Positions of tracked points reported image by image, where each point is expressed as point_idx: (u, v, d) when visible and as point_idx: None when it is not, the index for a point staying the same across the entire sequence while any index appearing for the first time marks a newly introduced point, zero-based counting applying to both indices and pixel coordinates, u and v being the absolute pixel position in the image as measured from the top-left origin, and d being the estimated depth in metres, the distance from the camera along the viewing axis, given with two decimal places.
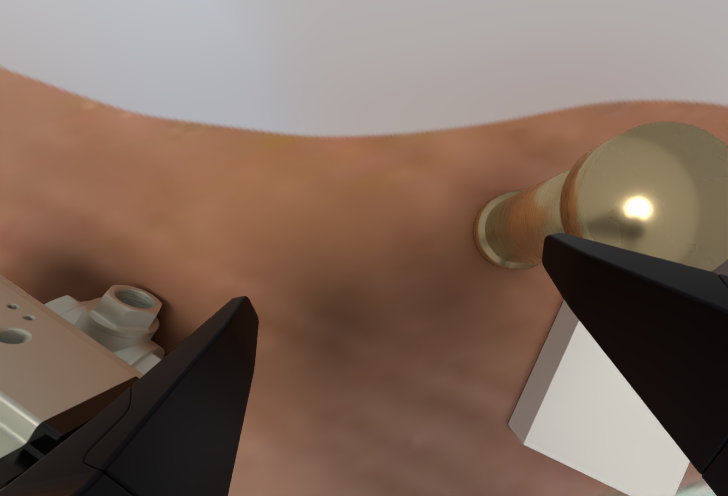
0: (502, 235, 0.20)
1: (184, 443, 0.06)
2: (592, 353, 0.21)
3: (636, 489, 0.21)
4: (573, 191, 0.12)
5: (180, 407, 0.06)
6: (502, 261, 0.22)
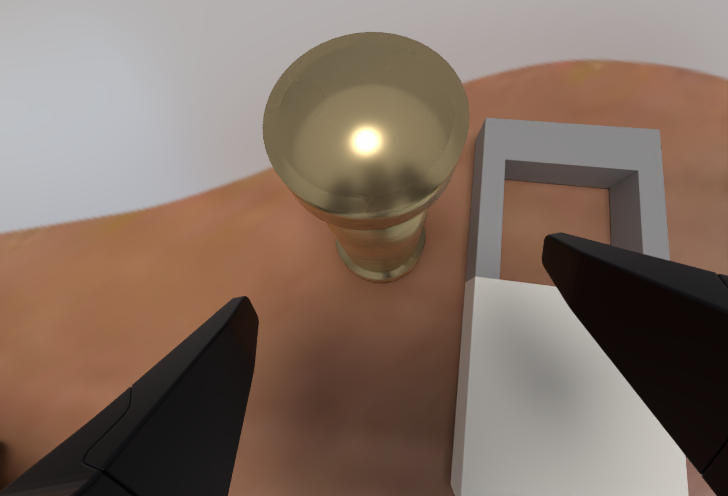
0: (339, 243, 0.17)
1: (184, 443, 0.06)
2: (503, 351, 0.16)
3: None
4: None
5: (180, 407, 0.06)
6: (372, 274, 0.19)
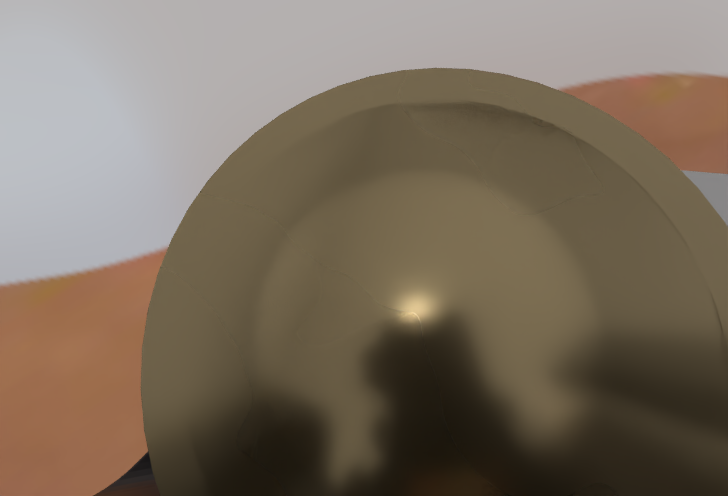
0: None
1: None
2: None
3: None
4: None
5: None
6: None
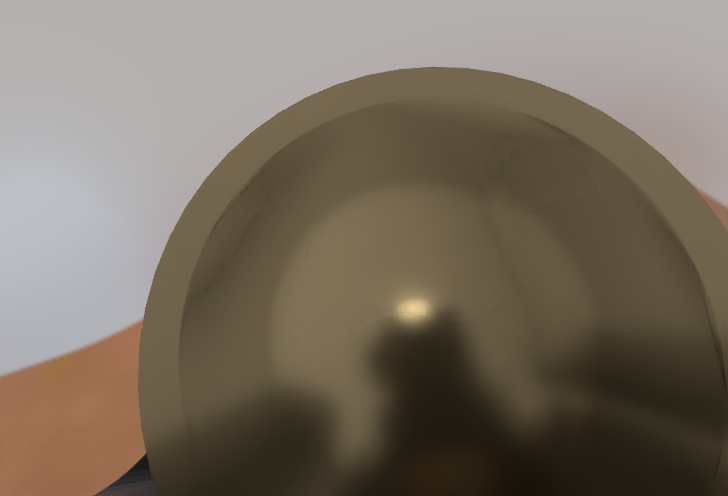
0: None
1: None
2: None
3: None
4: None
5: None
6: None
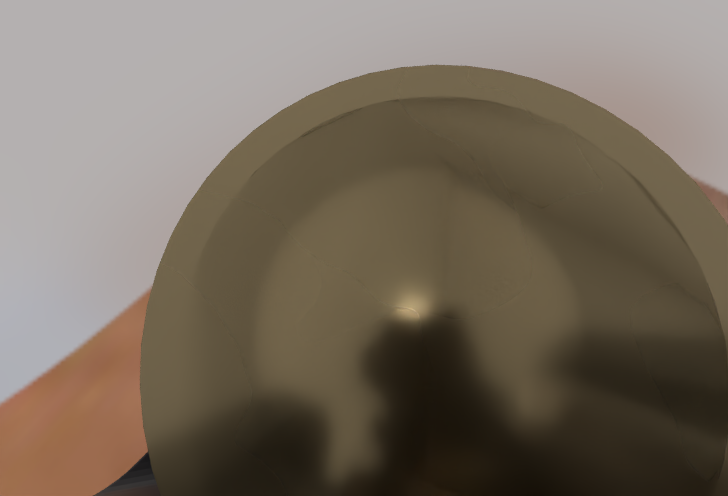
0: None
1: None
2: None
3: None
4: None
5: None
6: None
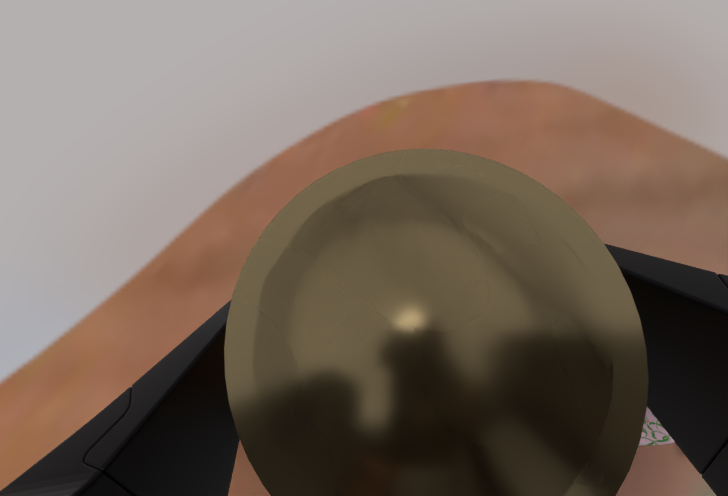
0: None
1: (184, 443, 0.06)
2: None
3: None
4: None
5: (180, 407, 0.06)
6: None
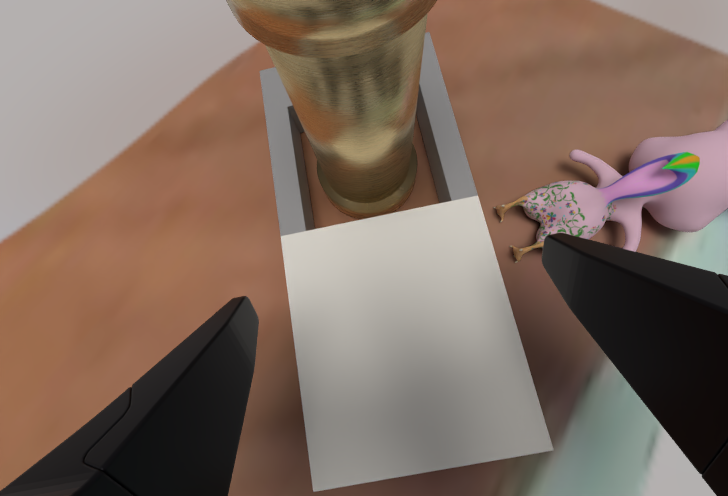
0: (317, 158, 0.14)
1: (184, 443, 0.06)
2: (324, 305, 0.15)
3: (492, 445, 0.13)
4: None
5: (180, 407, 0.06)
6: (357, 205, 0.17)
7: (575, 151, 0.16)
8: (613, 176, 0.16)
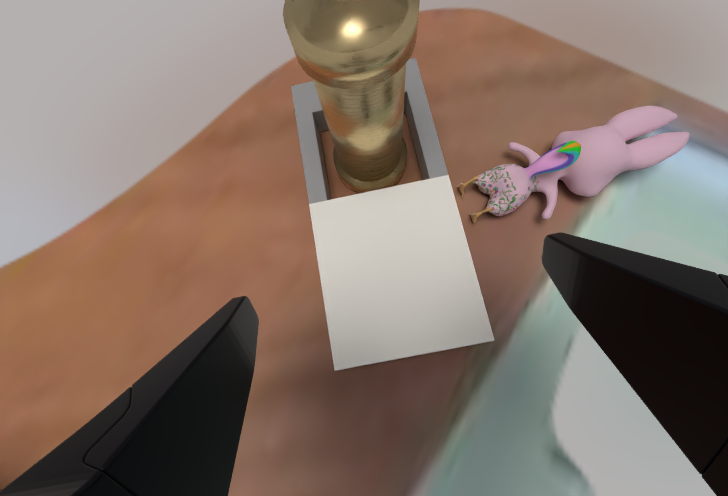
0: (336, 148, 0.21)
1: (184, 443, 0.06)
2: (341, 250, 0.21)
3: (454, 338, 0.19)
4: None
5: (180, 407, 0.06)
6: (363, 183, 0.23)
7: (511, 143, 0.23)
8: None
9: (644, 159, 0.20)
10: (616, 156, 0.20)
